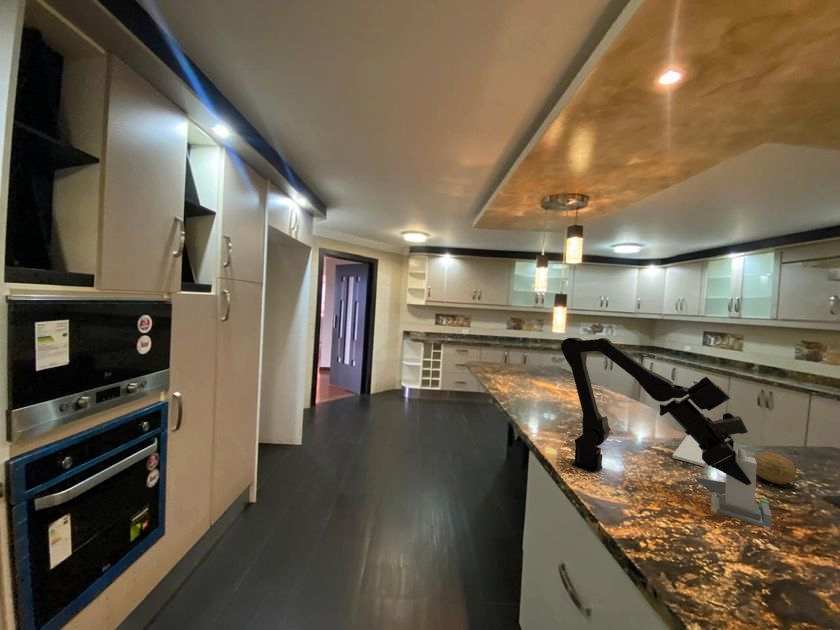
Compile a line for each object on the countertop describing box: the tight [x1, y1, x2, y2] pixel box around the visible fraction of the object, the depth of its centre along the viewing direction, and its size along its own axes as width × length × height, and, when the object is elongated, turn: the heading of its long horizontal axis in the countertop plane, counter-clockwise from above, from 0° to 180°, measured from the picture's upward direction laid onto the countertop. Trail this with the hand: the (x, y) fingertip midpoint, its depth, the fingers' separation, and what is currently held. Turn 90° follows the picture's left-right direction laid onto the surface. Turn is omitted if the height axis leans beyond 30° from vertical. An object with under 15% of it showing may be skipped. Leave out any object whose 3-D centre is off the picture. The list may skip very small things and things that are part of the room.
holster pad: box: [693, 476, 726, 495], centre depth 98 cm, size 9×9×1 cm
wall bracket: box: [672, 434, 707, 467], centre depth 124 cm, size 10×7×28 cm
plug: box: [719, 449, 760, 521], centre depth 85 cm, size 7×7×14 cm
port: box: [710, 493, 773, 531], centre depth 85 cm, size 10×11×3 cm
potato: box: [752, 451, 797, 485], centre depth 105 cm, size 10×14×8 cm
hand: (748, 478), depth 84 cm, fingers open, 9 cm apart
